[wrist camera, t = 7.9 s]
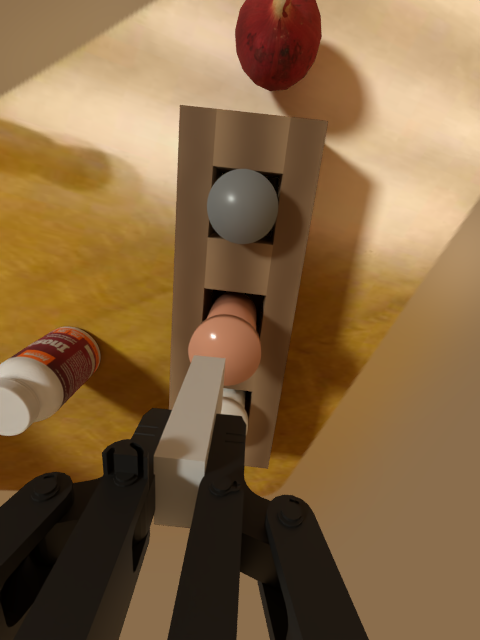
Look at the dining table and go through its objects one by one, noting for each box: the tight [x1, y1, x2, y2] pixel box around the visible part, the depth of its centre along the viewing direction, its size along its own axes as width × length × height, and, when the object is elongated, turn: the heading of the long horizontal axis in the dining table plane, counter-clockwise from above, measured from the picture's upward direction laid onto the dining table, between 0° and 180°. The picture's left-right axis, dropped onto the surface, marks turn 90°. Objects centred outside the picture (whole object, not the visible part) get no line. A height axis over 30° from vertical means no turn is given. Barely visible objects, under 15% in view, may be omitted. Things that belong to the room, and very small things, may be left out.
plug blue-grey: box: [207, 169, 278, 244], centre depth 26 cm, size 5×5×8 cm
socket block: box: [169, 105, 328, 469], centre depth 31 cm, size 10×30×6 cm, turn 174°
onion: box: [235, 0, 322, 91], centre depth 23 cm, size 6×6×8 cm
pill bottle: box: [0, 327, 101, 436], centre depth 31 cm, size 6×6×11 cm
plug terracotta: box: [188, 292, 261, 386], centre depth 26 cm, size 5×5×8 cm
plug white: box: [221, 388, 248, 435], centre depth 33 cm, size 5×5×8 cm
